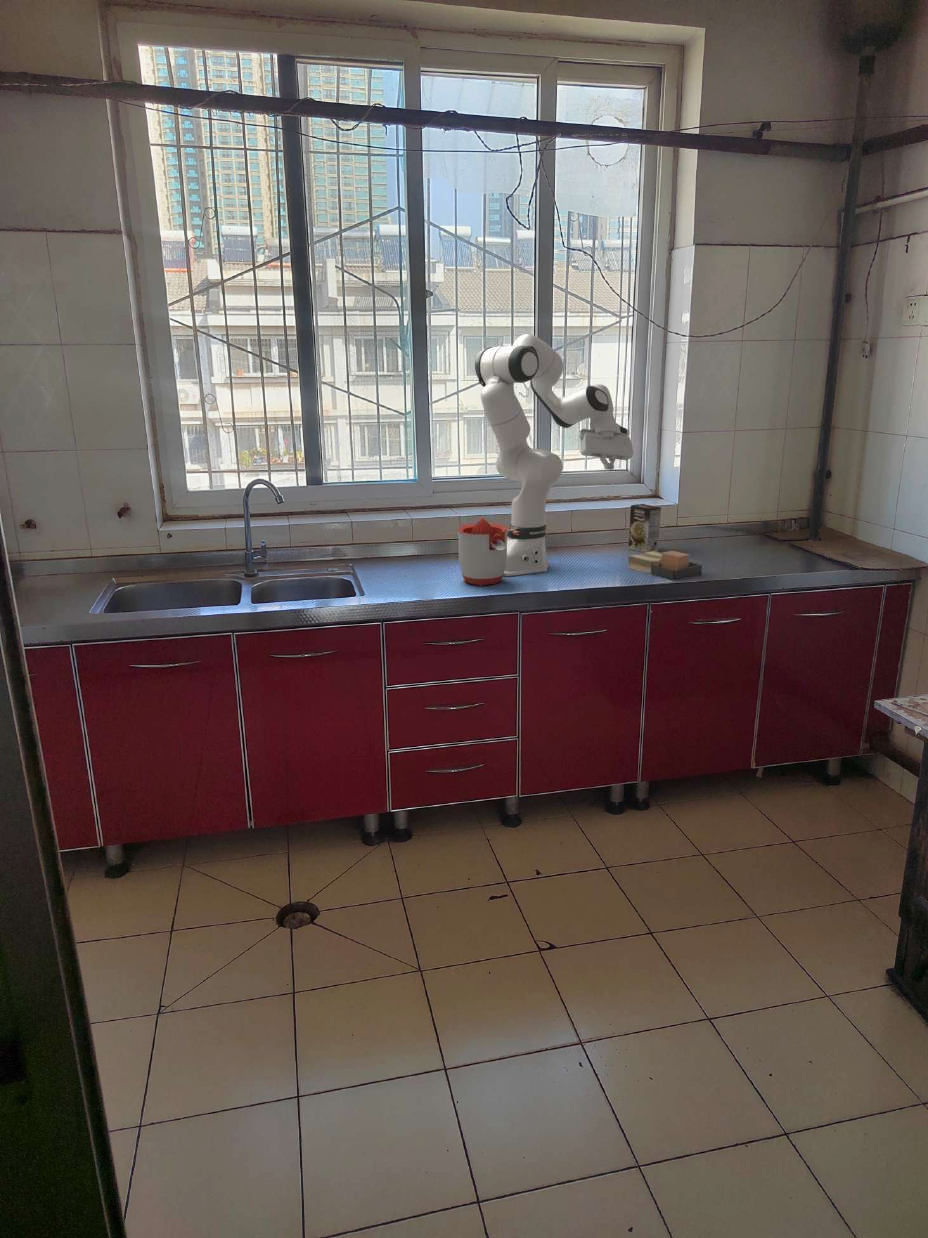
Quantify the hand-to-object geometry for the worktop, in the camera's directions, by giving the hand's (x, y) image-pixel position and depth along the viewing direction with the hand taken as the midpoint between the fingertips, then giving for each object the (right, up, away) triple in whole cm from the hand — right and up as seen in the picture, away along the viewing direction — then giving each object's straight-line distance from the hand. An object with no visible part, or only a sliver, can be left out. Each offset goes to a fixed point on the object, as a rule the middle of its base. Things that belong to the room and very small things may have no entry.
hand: (609, 468), depth 275 cm
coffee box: (+15, -26, +17) cm, 35 cm away
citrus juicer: (-43, -40, -21) cm, 62 cm away
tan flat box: (+13, -34, -8) cm, 37 cm away
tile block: (+16, -32, -13) cm, 38 cm away
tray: (+19, -37, -16) cm, 44 cm away
